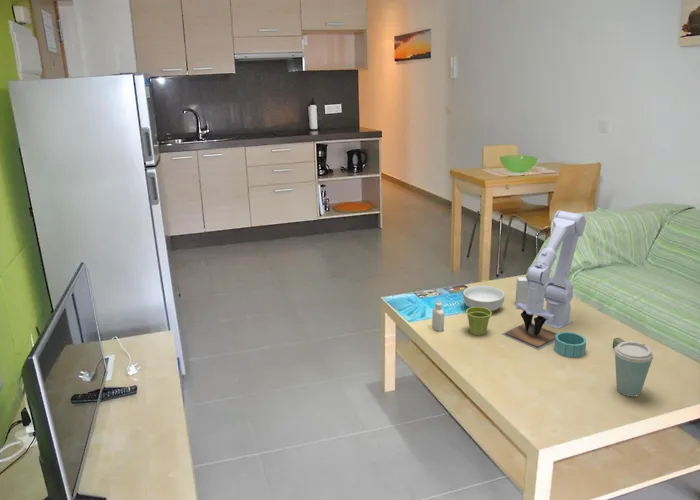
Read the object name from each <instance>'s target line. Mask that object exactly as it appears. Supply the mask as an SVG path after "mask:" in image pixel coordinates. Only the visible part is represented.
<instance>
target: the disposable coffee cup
mask: <svg viewBox="0 0 700 500" xmlns="http://www.w3.org/2000/svg"><path fill="white" fill-rule="evenodd" d="M613 353H614V359H615V360H614V361H615V364H614V365H615V382H616V383H615V384H616V385H615V386H616V390H617V392H618V391H619V392H620V393H619V392H618V393H619V394H621V393H622V394H625V395H629V396H636V395H638V396H639V394H641V393H642V391H643V388H644V385H645V382H646V379H647V375H648V373H649V370H650V367H651V363H652V361H653V360H654V355H653V351H652V348H651V347H650V346H648V345H647V344H645V343H642V342H640V341H635V340H634V341H630V340H628V341H625V342H621V343H620V344H618V345H617V346H616V347H615V348H614V349H613ZM622 394H621V395H622ZM625 395H624V396H625ZM629 396H628V397H629ZM636 397H637V396H636Z"/></svg>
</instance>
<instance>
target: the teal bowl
mask: <svg viewBox="0 0 700 500" xmlns="http://www.w3.org/2000/svg"><path fill="white" fill-rule="evenodd" d="M586 347H587V338H585V336H583V335H582V334H579V333H576V332H570V331H561V332H558V333H557V334H556V336H555V342H554V346H553V349H554V351H555V353H556V354H558V355H560V356H562V357H567V358H575V359H576V358H581V357H584V355H585V354H586Z"/></svg>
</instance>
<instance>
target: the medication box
mask: <svg viewBox="0 0 700 500" xmlns="http://www.w3.org/2000/svg"><path fill="white" fill-rule="evenodd" d="M612 342H613V343H612V349H613V348H615V347H616V346H617V345H618V344H620V343H621V342H626V341H625V340H623V338H621V337H615V338H613V341H612Z"/></svg>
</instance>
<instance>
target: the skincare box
mask: <svg viewBox="0 0 700 500" xmlns="http://www.w3.org/2000/svg"><path fill="white" fill-rule="evenodd" d="M515 285H516V286H515V287H516V289H515V300H514V301H515V305H516V304H518V303H522V304H527V298H528V287H529V286H528V285H527V279H526V276H525V277H524V276H522V277H521V276H519V277H518V276H517V277H516V284H515Z"/></svg>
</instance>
